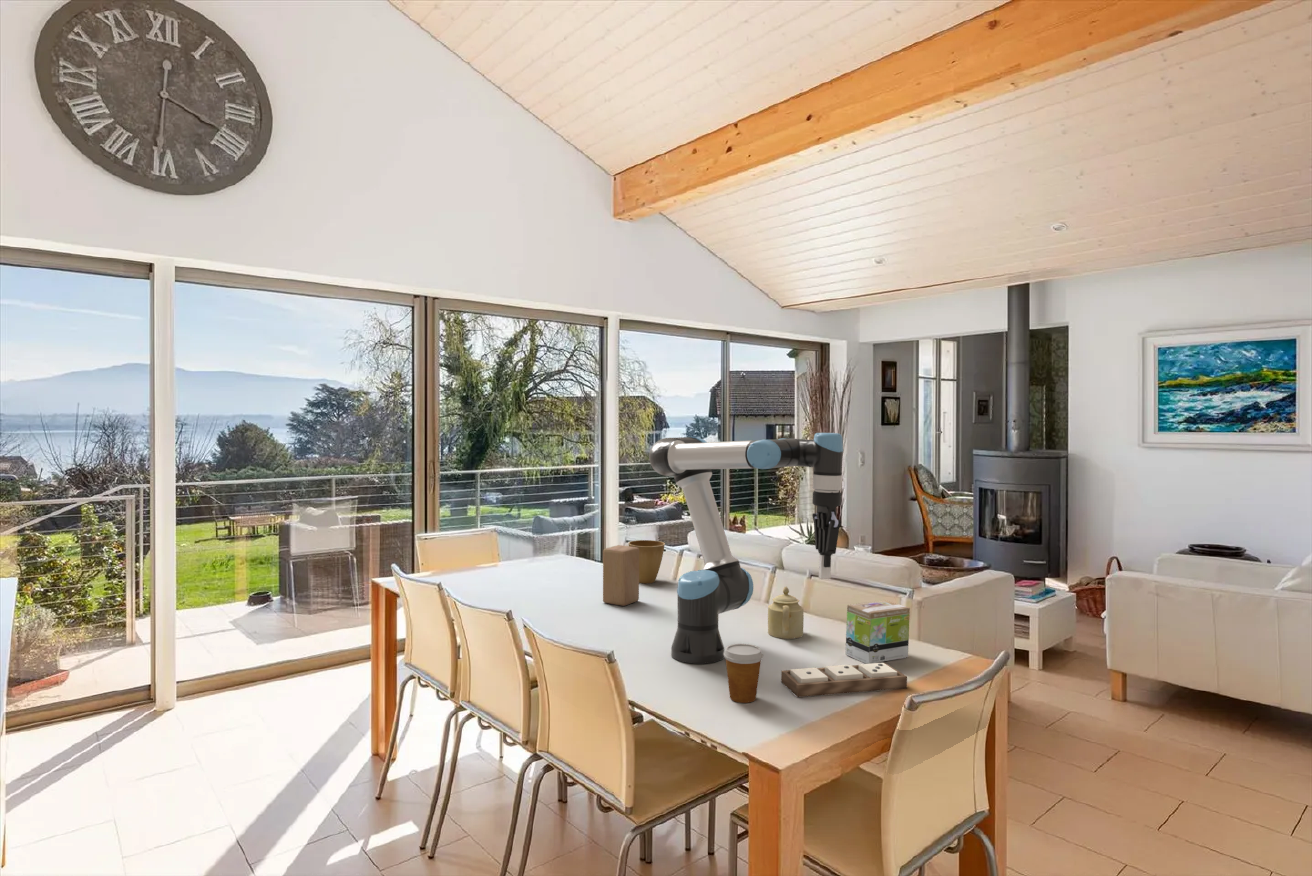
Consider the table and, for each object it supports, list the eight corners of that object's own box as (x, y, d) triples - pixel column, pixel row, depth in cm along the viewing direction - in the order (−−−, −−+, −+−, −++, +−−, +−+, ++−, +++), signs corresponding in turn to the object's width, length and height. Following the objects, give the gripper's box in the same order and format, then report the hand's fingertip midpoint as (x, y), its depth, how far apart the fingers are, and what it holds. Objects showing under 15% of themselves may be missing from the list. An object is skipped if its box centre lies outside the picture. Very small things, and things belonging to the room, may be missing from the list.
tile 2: (837, 688, 185) (837, 675, 185) (824, 678, 192) (824, 665, 192) (862, 686, 187) (862, 673, 187) (849, 676, 194) (849, 663, 194)
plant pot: (624, 584, 300) (625, 545, 299) (632, 577, 315) (632, 539, 314) (661, 586, 297) (661, 546, 297) (666, 578, 312) (667, 540, 312)
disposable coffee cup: (766, 705, 176) (767, 655, 176) (726, 706, 175) (727, 656, 175) (757, 690, 186) (758, 642, 185) (720, 691, 185) (720, 643, 184)
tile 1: (801, 692, 183) (801, 678, 183) (790, 682, 190) (790, 668, 190) (827, 689, 185) (827, 676, 185) (815, 680, 192) (815, 666, 191)
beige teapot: (816, 641, 227) (816, 592, 226) (783, 644, 223) (783, 594, 223) (793, 627, 241) (793, 581, 240) (761, 630, 238) (762, 583, 237)
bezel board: (797, 697, 181) (797, 685, 181) (781, 682, 191) (781, 670, 191) (906, 688, 188) (907, 676, 187) (885, 674, 198) (885, 663, 198)
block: (639, 601, 274) (640, 547, 273) (624, 607, 265) (624, 551, 265) (617, 597, 279) (618, 544, 278) (601, 603, 271) (602, 548, 270)
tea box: (869, 666, 204) (870, 612, 204) (844, 655, 213) (845, 604, 213) (909, 658, 211) (910, 606, 211) (883, 648, 220) (884, 598, 220)
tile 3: (871, 686, 187) (872, 672, 187) (858, 676, 194) (858, 663, 194) (897, 684, 189) (897, 671, 189) (882, 674, 196) (883, 662, 196)
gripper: (851, 493, 193) (848, 583, 194) (829, 487, 206) (827, 572, 207) (824, 493, 191) (821, 584, 192) (804, 488, 204) (801, 573, 205)
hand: (824, 578), depth 199 cm, fingers closed
